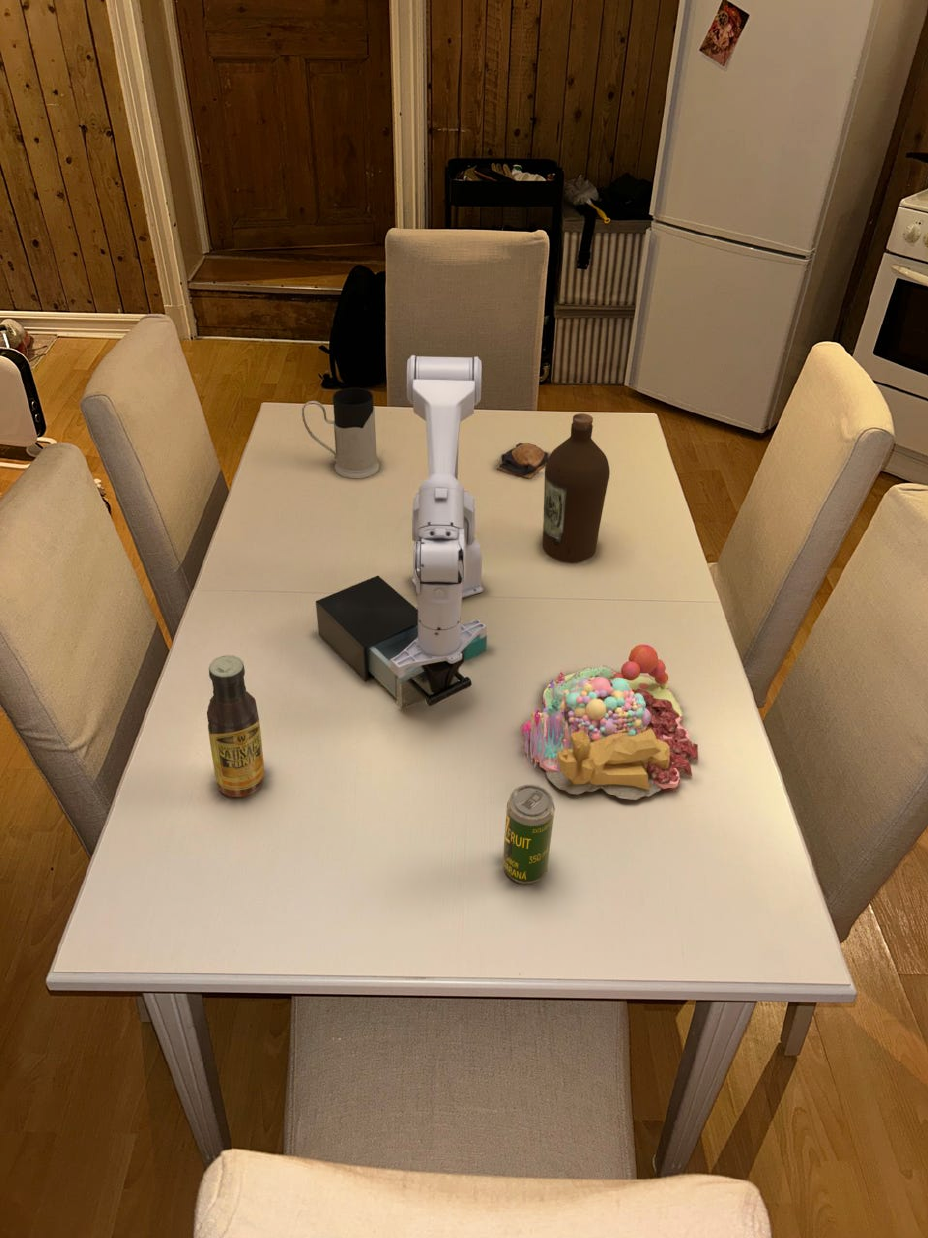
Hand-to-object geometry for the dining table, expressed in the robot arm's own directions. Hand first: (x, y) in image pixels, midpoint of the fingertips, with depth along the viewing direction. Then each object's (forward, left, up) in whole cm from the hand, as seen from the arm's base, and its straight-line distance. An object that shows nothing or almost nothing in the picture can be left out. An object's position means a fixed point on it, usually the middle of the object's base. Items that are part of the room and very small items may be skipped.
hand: (438, 692), depth 134 cm
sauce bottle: (+29, +1, -3) cm, 29 cm away
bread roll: (-46, -55, -3) cm, 72 cm away
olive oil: (-38, -26, -3) cm, 46 cm away
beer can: (+3, +29, -3) cm, 29 cm away
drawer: (+1, -6, -2) cm, 6 cm away
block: (-10, -9, -3) cm, 14 cm away
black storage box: (+3, -17, -3) cm, 17 cm away
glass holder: (-13, -69, -3) cm, 70 cm away
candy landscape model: (-18, +15, -3) cm, 24 cm away
